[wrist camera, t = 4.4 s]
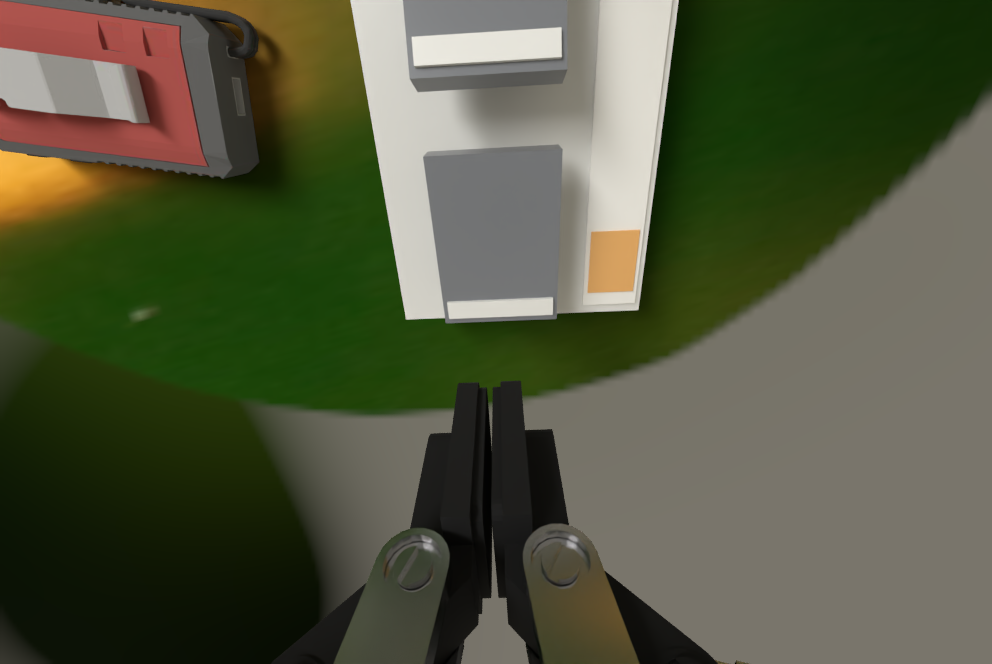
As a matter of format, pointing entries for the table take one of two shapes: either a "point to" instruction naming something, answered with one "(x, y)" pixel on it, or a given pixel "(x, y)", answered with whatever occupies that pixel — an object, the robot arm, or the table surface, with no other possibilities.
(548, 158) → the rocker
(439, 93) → the switch unit
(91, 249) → the table surface
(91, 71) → the walkie-talkie
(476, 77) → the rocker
